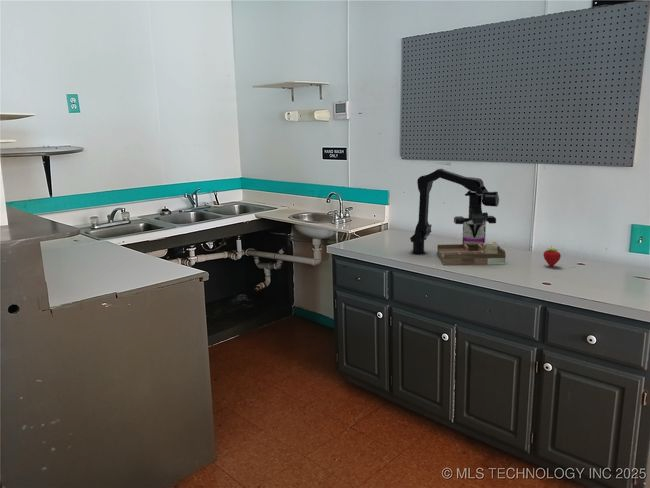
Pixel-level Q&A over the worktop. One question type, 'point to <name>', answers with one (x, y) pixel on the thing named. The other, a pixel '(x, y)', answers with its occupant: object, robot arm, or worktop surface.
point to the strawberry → (552, 256)
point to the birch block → (490, 248)
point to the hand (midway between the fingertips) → (474, 237)
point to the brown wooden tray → (469, 255)
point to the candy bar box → (469, 237)
